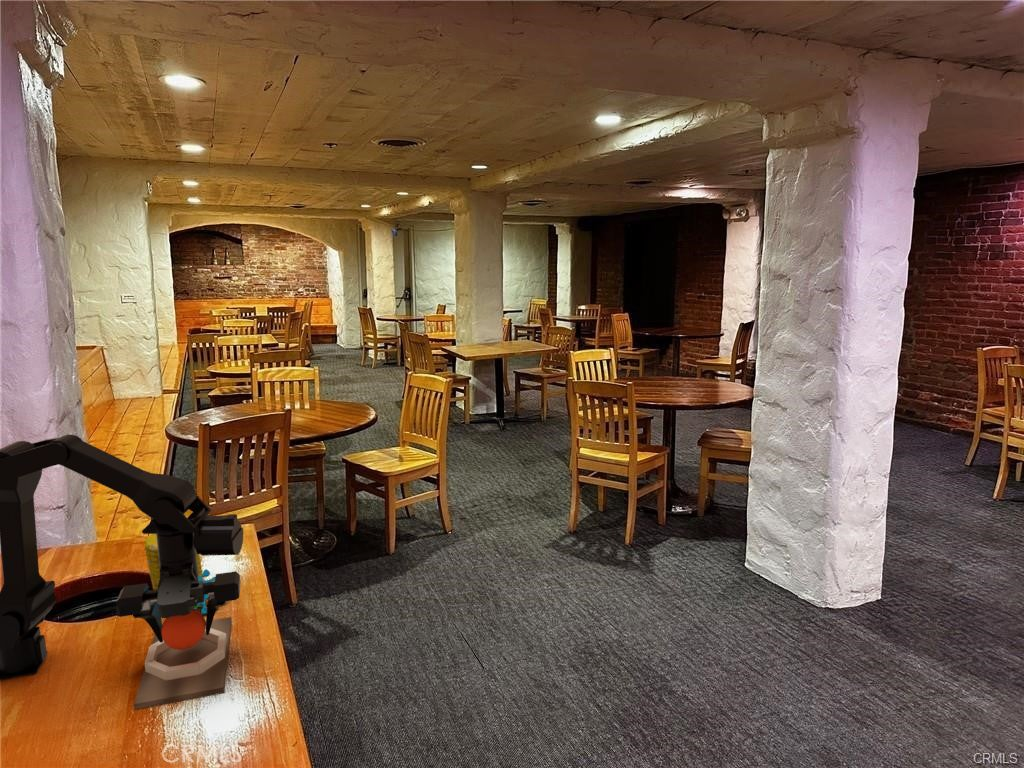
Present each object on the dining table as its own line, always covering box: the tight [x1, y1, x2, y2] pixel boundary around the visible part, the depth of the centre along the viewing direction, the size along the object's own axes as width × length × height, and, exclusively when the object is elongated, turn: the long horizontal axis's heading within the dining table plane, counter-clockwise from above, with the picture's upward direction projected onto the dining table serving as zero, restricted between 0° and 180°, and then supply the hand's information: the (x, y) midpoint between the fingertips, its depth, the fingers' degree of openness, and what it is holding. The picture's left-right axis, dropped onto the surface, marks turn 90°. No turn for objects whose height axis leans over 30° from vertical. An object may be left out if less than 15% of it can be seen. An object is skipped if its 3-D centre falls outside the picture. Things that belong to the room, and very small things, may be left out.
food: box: [144, 534, 205, 590], centre depth 137 cm, size 15×12×10 cm
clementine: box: [161, 605, 206, 650], centre depth 116 cm, size 8×7×7 cm
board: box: [133, 616, 233, 711], centre depth 117 cm, size 13×22×1 cm, turn 19°
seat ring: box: [144, 627, 227, 680], centre depth 117 cm, size 12×12×2 cm
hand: (185, 637), depth 116 cm, fingers closed on clementine, 7 cm apart
